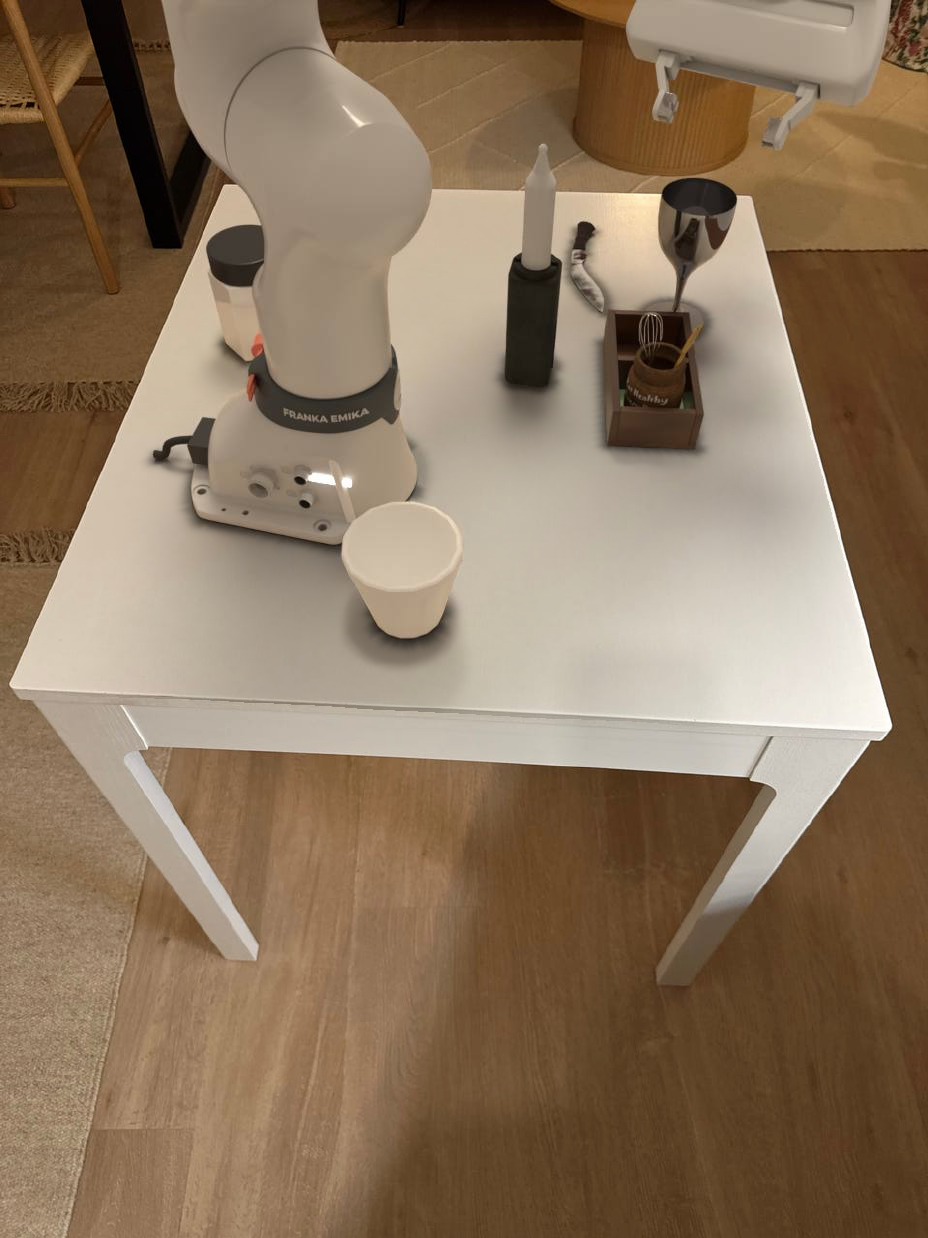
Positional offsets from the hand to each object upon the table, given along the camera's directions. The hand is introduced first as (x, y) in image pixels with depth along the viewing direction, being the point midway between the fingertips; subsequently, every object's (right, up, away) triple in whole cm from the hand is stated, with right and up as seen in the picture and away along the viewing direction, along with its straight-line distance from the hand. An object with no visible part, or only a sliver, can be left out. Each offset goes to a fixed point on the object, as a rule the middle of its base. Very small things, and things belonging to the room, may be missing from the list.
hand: (714, 132), depth 73 cm
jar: (-44, -7, +32) cm, 55 cm away
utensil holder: (0, -18, +23) cm, 29 cm away
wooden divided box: (0, -15, +26) cm, 30 cm away
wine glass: (+5, -4, +34) cm, 35 cm away
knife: (-5, +4, +40) cm, 41 cm away
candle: (-13, -12, +28) cm, 33 cm away
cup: (-25, -39, +7) cm, 47 cm away
